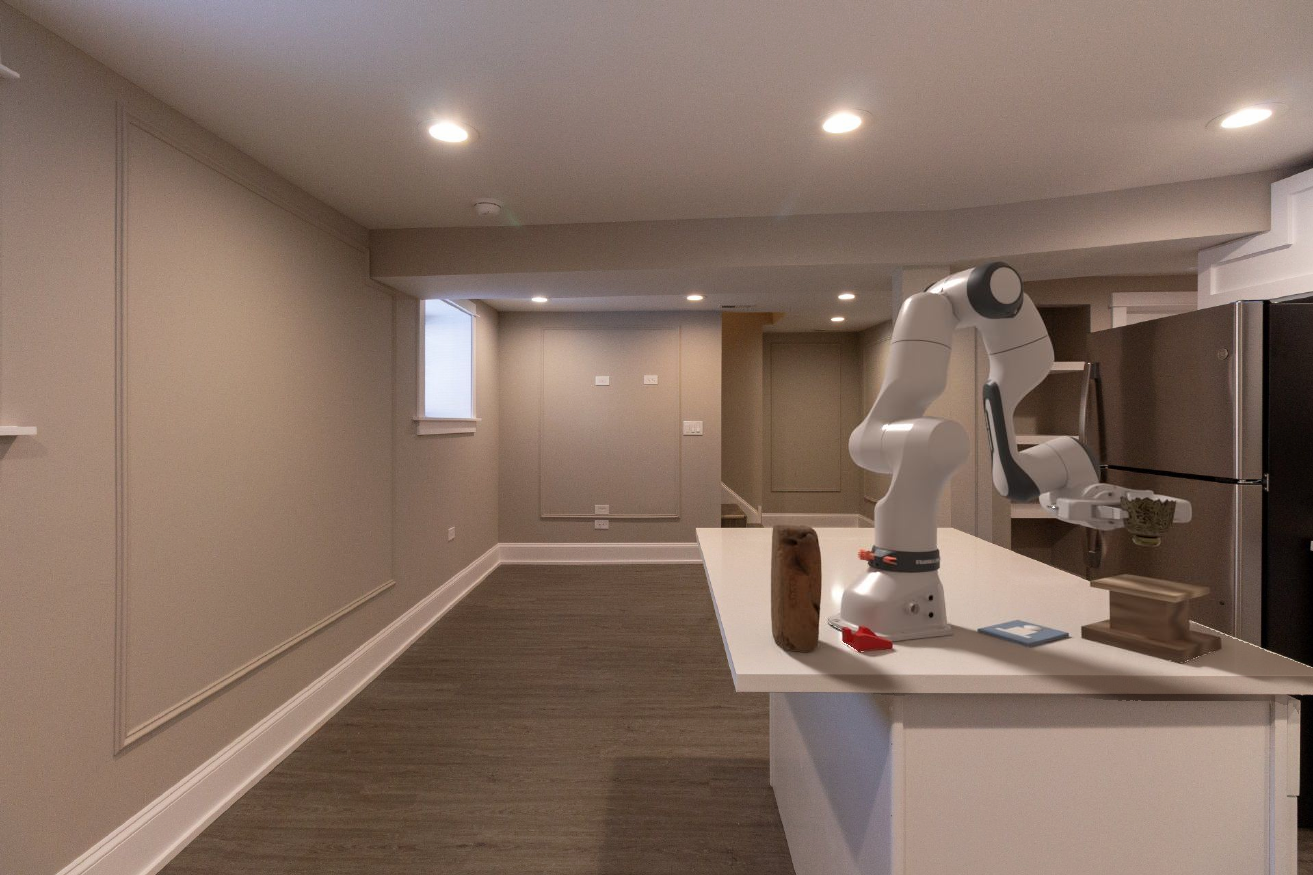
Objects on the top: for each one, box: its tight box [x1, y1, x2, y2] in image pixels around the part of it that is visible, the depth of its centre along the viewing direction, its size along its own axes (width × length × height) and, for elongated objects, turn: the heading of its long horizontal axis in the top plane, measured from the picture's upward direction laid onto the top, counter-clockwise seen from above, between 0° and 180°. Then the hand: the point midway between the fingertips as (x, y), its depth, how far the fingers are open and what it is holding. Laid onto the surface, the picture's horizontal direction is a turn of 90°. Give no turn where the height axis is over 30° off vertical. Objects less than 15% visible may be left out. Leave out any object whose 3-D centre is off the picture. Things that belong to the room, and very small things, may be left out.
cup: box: [1120, 496, 1176, 547], centre depth 102 cm, size 8×7×8 cm
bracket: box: [841, 626, 894, 653], centre depth 100 cm, size 6×5×3 cm
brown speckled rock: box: [770, 524, 823, 653], centre depth 102 cm, size 11×8×20 cm
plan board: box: [977, 619, 1070, 648], centre depth 106 cm, size 12×9×1 cm
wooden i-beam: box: [1080, 573, 1222, 664], centre depth 101 cm, size 14×14×10 cm
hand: (1150, 514), depth 101 cm, fingers closed on cup, 7 cm apart
